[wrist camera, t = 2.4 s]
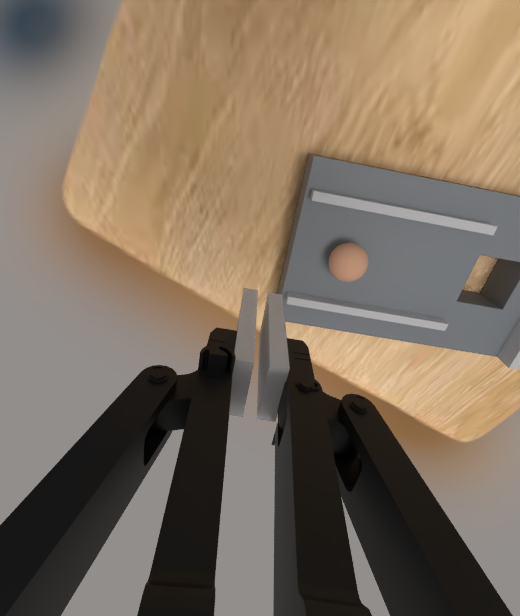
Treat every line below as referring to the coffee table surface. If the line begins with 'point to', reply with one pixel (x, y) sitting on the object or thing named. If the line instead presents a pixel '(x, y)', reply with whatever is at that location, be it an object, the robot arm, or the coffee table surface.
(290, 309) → the plate
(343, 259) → the ball
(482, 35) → the coffee table surface
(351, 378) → the coffee table surface
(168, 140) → the coffee table surface
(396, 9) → the coffee table surface
